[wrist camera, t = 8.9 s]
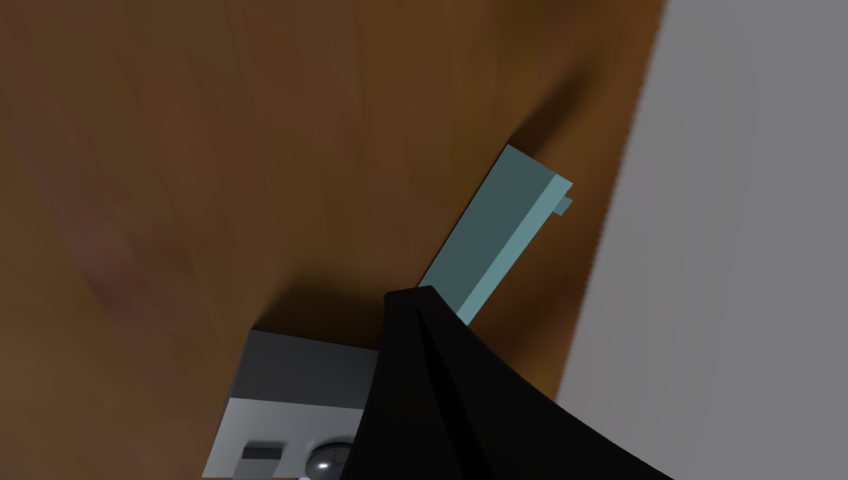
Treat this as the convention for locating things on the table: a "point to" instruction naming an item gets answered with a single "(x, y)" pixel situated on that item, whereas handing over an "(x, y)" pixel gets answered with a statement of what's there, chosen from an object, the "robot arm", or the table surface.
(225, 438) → the camera case
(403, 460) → the robot arm
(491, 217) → the side door
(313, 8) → the table surface
